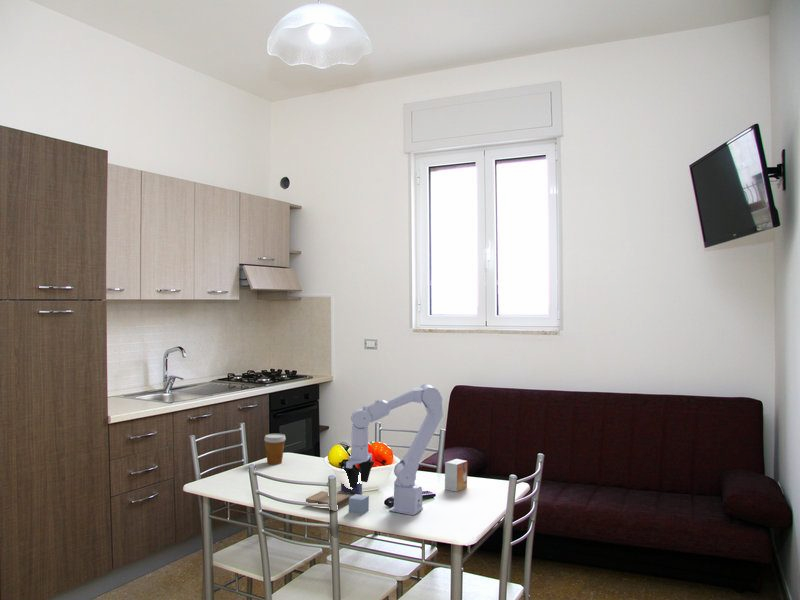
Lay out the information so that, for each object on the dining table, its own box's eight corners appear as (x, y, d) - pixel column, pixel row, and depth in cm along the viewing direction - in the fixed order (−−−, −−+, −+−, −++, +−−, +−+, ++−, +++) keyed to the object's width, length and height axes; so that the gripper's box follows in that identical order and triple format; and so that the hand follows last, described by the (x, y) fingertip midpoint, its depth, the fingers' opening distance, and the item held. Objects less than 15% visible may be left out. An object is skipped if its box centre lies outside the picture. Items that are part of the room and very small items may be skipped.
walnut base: (349, 503, 219) (350, 496, 219) (335, 511, 210) (335, 504, 210) (321, 497, 224) (321, 491, 224) (305, 505, 215) (305, 498, 215)
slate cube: (368, 510, 212) (368, 496, 212) (361, 515, 207) (361, 500, 207) (355, 508, 214) (356, 494, 214) (348, 512, 209) (348, 497, 209)
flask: (363, 493, 230) (363, 464, 230) (358, 495, 228) (359, 466, 228) (343, 489, 235) (343, 461, 235) (338, 491, 233) (339, 463, 233)
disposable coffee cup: (285, 465, 268) (285, 437, 268) (262, 465, 266) (263, 438, 267) (286, 459, 277) (286, 433, 277) (264, 460, 276) (264, 433, 276)
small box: (456, 492, 234) (457, 464, 234) (444, 489, 237) (444, 462, 237) (467, 487, 240) (467, 460, 240) (455, 484, 244) (455, 458, 244)
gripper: (360, 439, 219) (359, 477, 219) (338, 447, 206) (337, 488, 206) (377, 441, 216) (376, 480, 216) (356, 450, 203) (356, 491, 203)
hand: (358, 484), depth 211 cm, fingers open, 7 cm apart
